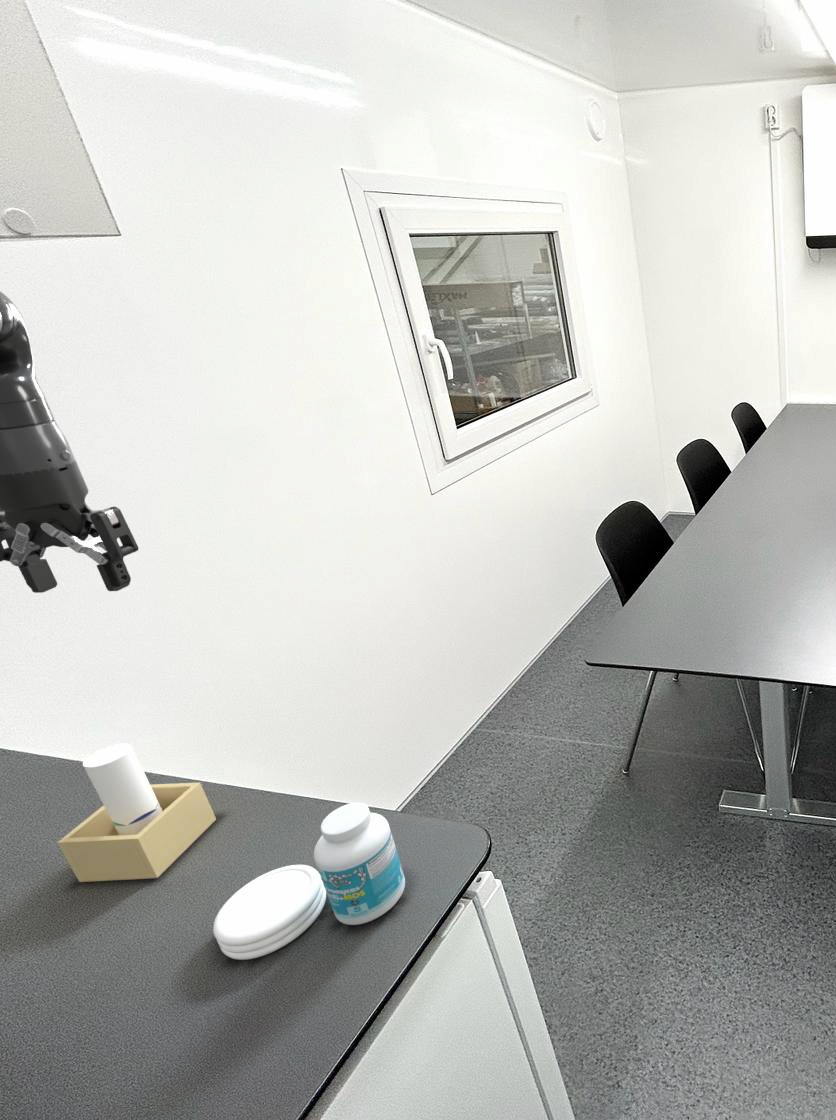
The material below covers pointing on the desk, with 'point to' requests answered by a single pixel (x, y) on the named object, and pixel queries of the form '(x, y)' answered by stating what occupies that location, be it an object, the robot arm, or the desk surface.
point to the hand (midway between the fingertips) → (83, 589)
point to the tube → (123, 788)
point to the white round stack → (269, 912)
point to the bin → (139, 837)
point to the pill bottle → (358, 864)
